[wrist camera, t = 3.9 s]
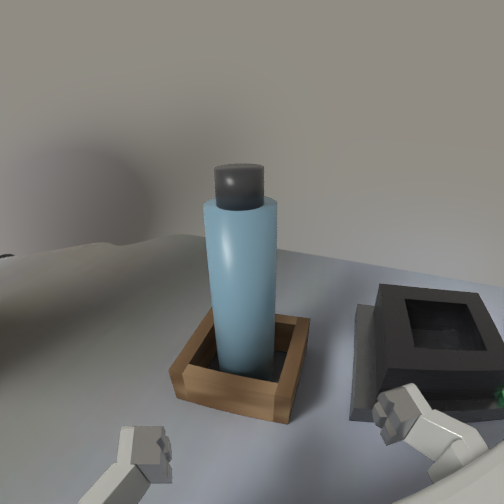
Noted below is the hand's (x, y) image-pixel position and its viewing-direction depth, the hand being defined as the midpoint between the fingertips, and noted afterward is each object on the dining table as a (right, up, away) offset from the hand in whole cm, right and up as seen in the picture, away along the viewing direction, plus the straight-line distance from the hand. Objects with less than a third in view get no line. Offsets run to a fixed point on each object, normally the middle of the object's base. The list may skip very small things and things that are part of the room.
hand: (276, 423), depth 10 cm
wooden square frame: (-1, -3, +12) cm, 13 cm away
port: (+13, -3, +11) cm, 18 cm away
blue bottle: (-1, -3, +12) cm, 13 cm away
